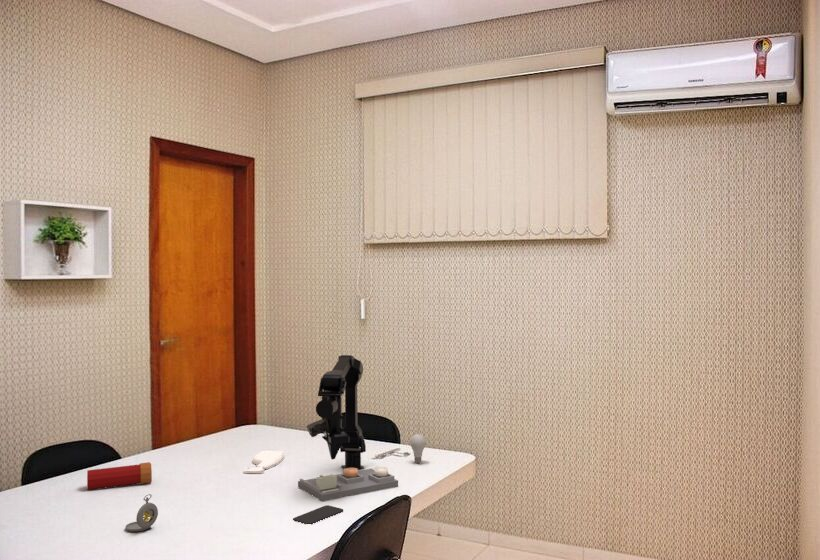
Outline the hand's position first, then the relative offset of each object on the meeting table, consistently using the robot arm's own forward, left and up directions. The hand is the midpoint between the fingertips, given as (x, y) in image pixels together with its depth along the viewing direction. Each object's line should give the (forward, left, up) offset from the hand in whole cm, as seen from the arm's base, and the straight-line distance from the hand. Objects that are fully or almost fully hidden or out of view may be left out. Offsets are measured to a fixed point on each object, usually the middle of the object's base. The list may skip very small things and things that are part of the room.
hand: (332, 458), depth 223 cm
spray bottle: (-42, -7, -11) cm, 44 cm away
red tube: (-44, -57, -11) cm, 73 cm away
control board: (0, +6, -10) cm, 12 cm away
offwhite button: (+5, +16, -7) cm, 18 cm away
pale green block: (+3, -4, -8) cm, 10 cm away
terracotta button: (0, +7, -7) cm, 10 cm away
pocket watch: (+3, -61, -11) cm, 62 cm away
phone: (+20, -15, -11) cm, 27 cm away
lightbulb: (-12, +43, -11) cm, 46 cm away
